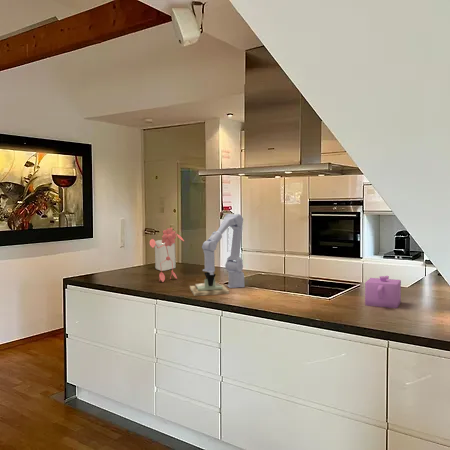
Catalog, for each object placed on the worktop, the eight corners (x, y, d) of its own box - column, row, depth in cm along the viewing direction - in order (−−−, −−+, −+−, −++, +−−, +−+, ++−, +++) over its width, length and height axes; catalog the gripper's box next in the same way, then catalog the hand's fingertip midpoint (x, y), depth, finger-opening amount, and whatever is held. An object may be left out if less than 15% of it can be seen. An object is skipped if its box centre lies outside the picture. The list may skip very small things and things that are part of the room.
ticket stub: (220, 287, 275) (220, 276, 274) (222, 289, 270) (222, 278, 269) (197, 288, 272) (196, 278, 271) (198, 290, 267) (198, 279, 266)
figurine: (148, 283, 300) (146, 228, 297) (178, 277, 319) (177, 226, 316) (163, 286, 290) (161, 230, 287) (193, 279, 308) (192, 226, 305)
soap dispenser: (163, 271, 342) (162, 241, 341) (148, 269, 350) (148, 240, 348) (176, 268, 355) (175, 239, 353) (162, 266, 363) (161, 238, 361)
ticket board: (222, 286, 285) (222, 281, 285) (229, 293, 266) (229, 288, 266) (189, 288, 281) (189, 283, 281) (194, 295, 262) (194, 290, 262)
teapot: (402, 299, 245) (402, 273, 244) (395, 311, 223) (396, 281, 222) (372, 296, 252) (372, 271, 251) (363, 307, 230) (363, 279, 229)
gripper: (200, 260, 275) (201, 283, 276) (204, 264, 260) (205, 288, 262) (212, 259, 276) (213, 282, 277) (217, 263, 262) (217, 287, 263)
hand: (210, 285), depth 269 cm, fingers open, 3 cm apart
